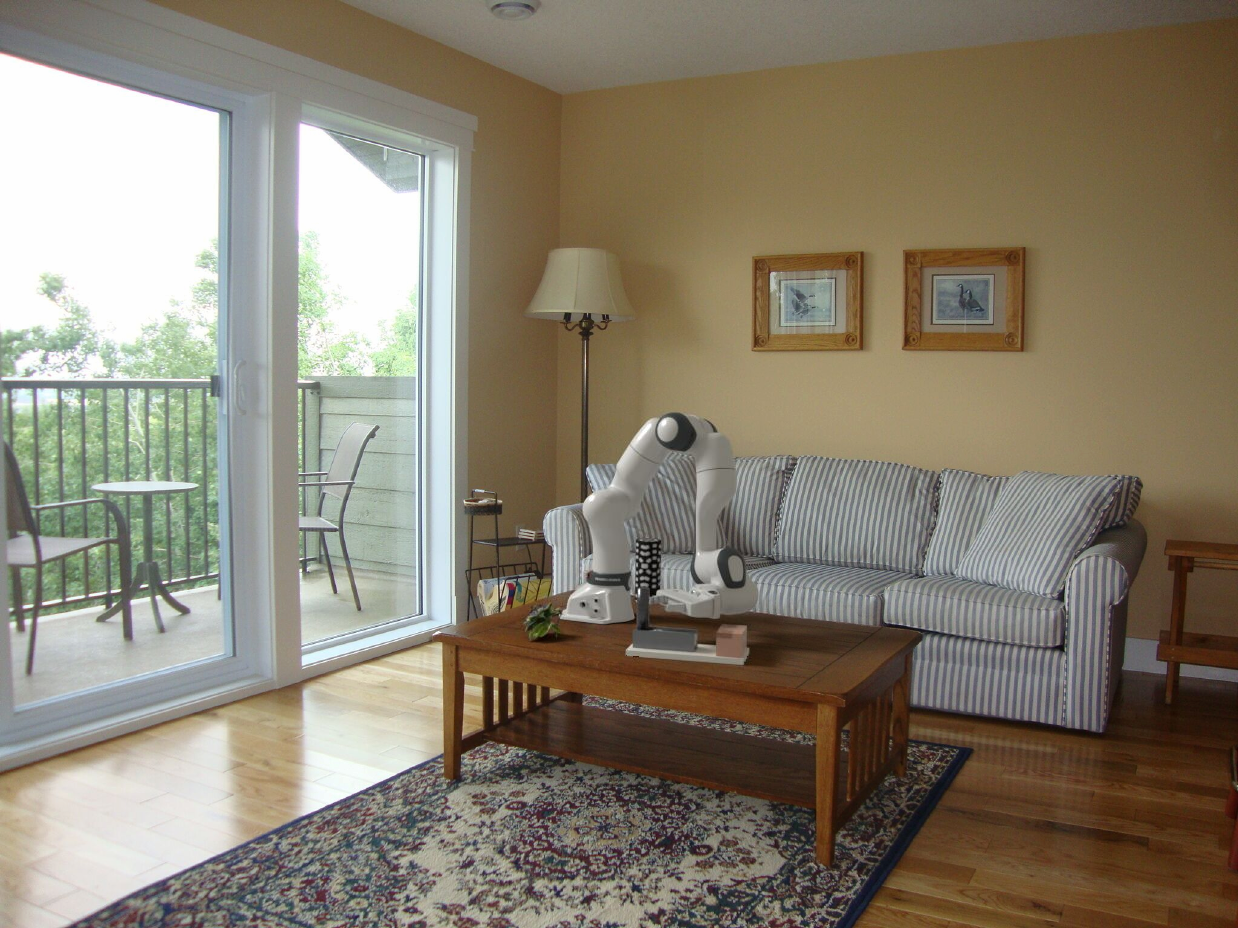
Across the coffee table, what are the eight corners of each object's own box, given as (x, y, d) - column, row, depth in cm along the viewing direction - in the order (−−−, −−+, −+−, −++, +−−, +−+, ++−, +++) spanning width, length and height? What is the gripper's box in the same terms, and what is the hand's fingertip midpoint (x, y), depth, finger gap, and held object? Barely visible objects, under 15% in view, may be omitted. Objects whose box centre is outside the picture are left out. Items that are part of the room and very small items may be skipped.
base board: (625, 655, 257) (625, 650, 257) (636, 644, 269) (636, 639, 269) (743, 665, 250) (743, 659, 250) (749, 653, 261) (749, 647, 261)
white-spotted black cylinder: (642, 604, 322) (643, 542, 320) (630, 599, 329) (631, 538, 328) (665, 602, 326) (666, 540, 324) (652, 597, 333) (653, 537, 332)
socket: (715, 655, 252) (716, 632, 252) (721, 646, 262) (722, 623, 262) (741, 657, 251) (741, 634, 250) (746, 648, 261) (746, 625, 260)
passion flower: (535, 654, 279) (543, 614, 285) (568, 651, 274) (575, 611, 280) (512, 637, 271) (521, 597, 277) (546, 635, 266) (554, 593, 272)
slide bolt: (633, 642, 261) (634, 588, 260) (636, 639, 264) (637, 586, 263) (694, 647, 257) (695, 592, 256) (696, 644, 260) (697, 590, 259)
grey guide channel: (632, 647, 260) (632, 629, 260) (637, 642, 265) (637, 625, 265) (693, 652, 256) (694, 634, 256) (697, 646, 261) (697, 629, 261)
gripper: (684, 582, 278) (639, 585, 272) (723, 595, 260) (676, 599, 254) (683, 604, 279) (639, 608, 273) (722, 619, 261) (675, 624, 255)
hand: (657, 604), depth 263 cm, fingers open, 8 cm apart
